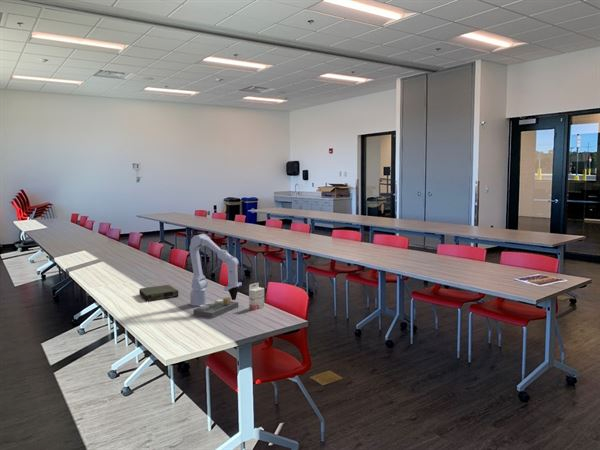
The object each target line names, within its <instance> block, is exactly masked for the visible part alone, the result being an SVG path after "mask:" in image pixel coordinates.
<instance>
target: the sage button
mask: <svg viewBox="0 0 600 450" xmlns="http://www.w3.org/2000/svg"><path fill="white" fill-rule="evenodd" d="M216 305H217V303H215V301H211V302H208V306H211V307H214V306H216Z"/></svg>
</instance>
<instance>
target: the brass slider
mask: <svg viewBox="0 0 600 450" xmlns="http://www.w3.org/2000/svg"><path fill="white" fill-rule="evenodd" d="M222 300H223V304H225V305H228V304H231V300H232V299H231V297H227V296H226V297H224V298H223V299H222Z"/></svg>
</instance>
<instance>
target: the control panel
mask: <svg viewBox="0 0 600 450" xmlns="http://www.w3.org/2000/svg"><path fill="white" fill-rule="evenodd" d="M207 305H208V304H207ZM237 308H238V309H239V302H238V301H234V300H232V301H231V304H228V305H225V304H223V303H221V304H219V303H217V305H216V306H214V307H211V306H209V309H206V310H202V309H200V308H199V307H197V308H195V309H193V311H192V312H193V316H196V317H197V316H199V317H204V318H208V319H213V318H217V317H218V316H222V315H223V313H224V314H226V313H228V312H230V311H234V310H235V309H237Z"/></svg>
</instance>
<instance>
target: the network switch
mask: <svg viewBox="0 0 600 450" xmlns="http://www.w3.org/2000/svg"><path fill="white" fill-rule="evenodd" d="M138 292H139V296H141V297H142V299H143V300H144V301H146V302H147V301H148V302H150V301H155V300H163V299H164V300H165V299H169V298H175V297H179V290H178V289H176V288H175V287H173V286H171V285H170V284H164V285H156V286H148V287H141V288H139V291H138Z"/></svg>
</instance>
